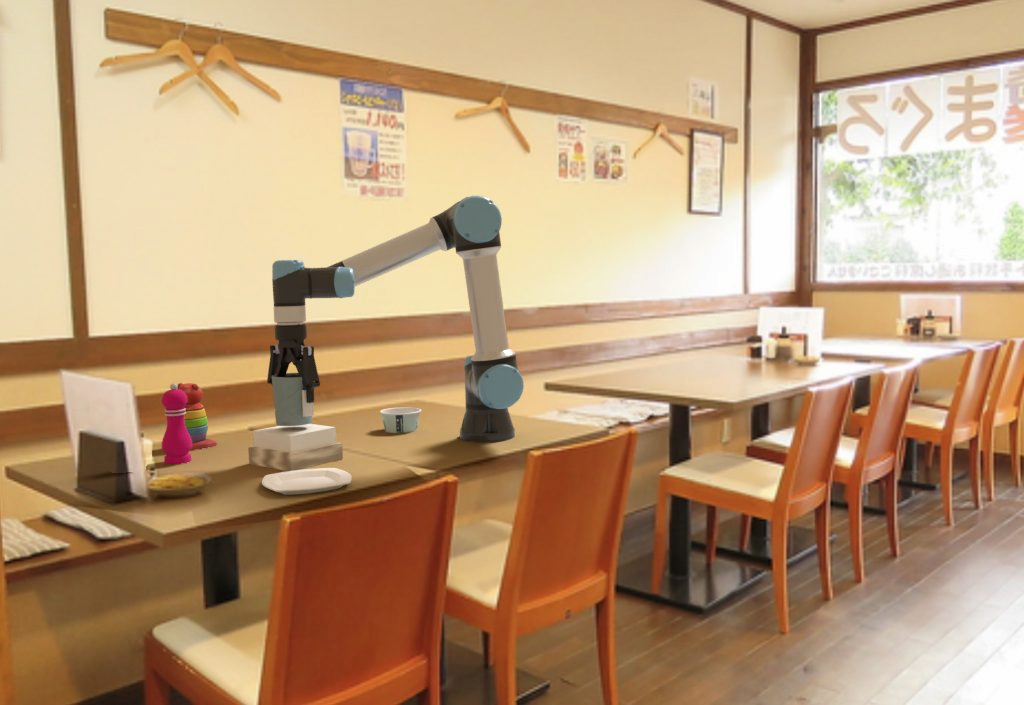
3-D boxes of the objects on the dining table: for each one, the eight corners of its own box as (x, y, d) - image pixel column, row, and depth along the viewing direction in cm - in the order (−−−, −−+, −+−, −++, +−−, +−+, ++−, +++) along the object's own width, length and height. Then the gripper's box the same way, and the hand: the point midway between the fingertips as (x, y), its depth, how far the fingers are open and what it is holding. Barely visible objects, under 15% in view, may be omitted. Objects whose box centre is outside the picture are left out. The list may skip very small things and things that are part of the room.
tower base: (342, 462, 220) (342, 442, 219) (291, 475, 207) (290, 454, 207) (301, 455, 230) (300, 436, 229) (249, 467, 217) (248, 446, 216)
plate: (268, 502, 182) (268, 493, 182) (256, 482, 200) (256, 474, 199) (360, 491, 189) (360, 482, 189) (341, 473, 207) (340, 465, 207)
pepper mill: (157, 463, 221) (152, 383, 219) (184, 458, 227) (180, 380, 225) (170, 466, 216) (166, 385, 215) (198, 461, 222) (194, 382, 220)
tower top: (336, 443, 219) (335, 427, 219) (291, 452, 208) (290, 436, 208) (299, 437, 228) (298, 422, 227) (254, 446, 216) (253, 430, 216)
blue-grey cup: (277, 420, 222) (275, 373, 221) (318, 418, 223) (316, 371, 222) (270, 427, 212) (268, 377, 211) (313, 425, 213) (311, 376, 212)
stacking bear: (220, 445, 242) (217, 381, 241) (193, 452, 233) (189, 386, 232) (190, 443, 247) (187, 380, 245) (162, 450, 238) (159, 384, 236)
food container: (424, 434, 253) (424, 412, 252) (382, 437, 250) (382, 414, 250) (418, 427, 265) (418, 406, 264) (378, 430, 262) (377, 408, 261)
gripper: (333, 323, 211) (336, 415, 214) (274, 321, 225) (278, 408, 227) (308, 325, 206) (312, 420, 208) (249, 323, 219) (253, 412, 221)
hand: (294, 414), depth 217 cm, fingers closed on blue-grey cup, 10 cm apart
